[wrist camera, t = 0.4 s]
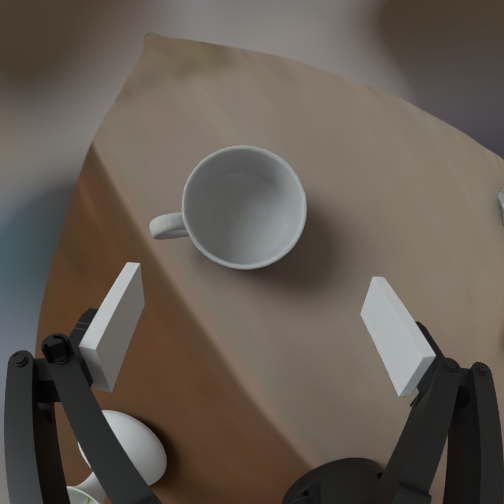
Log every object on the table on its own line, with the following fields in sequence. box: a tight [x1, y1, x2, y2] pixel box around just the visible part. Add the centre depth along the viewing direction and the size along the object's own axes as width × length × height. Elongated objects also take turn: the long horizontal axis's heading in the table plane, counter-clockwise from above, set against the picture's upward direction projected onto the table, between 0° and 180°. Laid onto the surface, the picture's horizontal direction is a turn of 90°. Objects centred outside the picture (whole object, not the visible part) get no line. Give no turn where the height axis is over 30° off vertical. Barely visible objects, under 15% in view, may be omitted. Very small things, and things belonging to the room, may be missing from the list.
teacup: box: [150, 145, 307, 270], centre depth 29 cm, size 14×11×8 cm
